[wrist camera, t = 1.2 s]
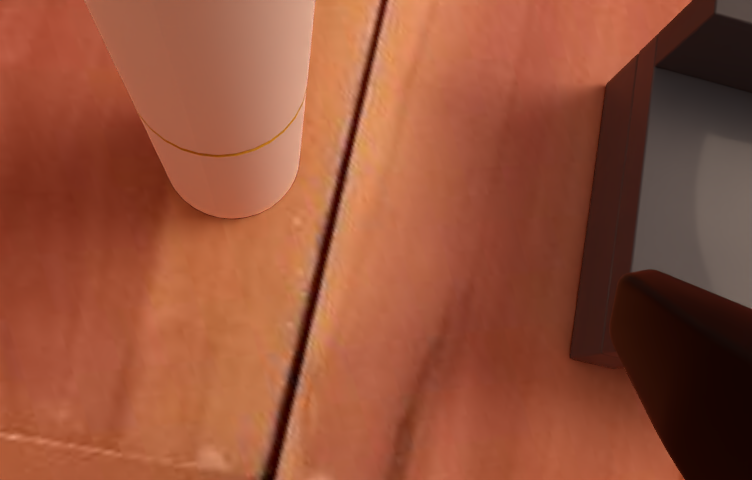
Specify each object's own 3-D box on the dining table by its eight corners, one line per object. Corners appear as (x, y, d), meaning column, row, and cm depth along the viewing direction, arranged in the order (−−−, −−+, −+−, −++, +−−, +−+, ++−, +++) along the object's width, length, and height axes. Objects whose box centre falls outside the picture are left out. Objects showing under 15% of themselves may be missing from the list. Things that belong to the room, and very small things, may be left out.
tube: (286, 230, 22) (306, -113, 7) (149, 203, 21) (-115, -215, 7) (310, 107, 23) (371, -404, 8) (181, 80, 22) (10, -507, 8)
